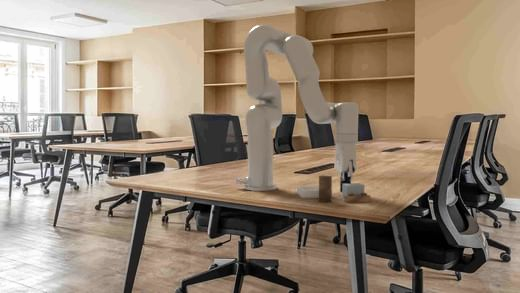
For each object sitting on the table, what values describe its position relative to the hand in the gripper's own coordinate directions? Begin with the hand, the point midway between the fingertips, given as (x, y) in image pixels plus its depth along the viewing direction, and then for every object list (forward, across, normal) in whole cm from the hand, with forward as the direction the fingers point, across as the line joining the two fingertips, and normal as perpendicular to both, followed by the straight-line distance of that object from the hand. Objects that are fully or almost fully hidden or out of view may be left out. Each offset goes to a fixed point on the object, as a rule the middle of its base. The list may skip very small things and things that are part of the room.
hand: (345, 192), depth 147 cm
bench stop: (+1, +11, 0) cm, 11 cm away
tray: (+1, -1, -11) cm, 11 cm away
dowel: (+1, +9, -10) cm, 13 cm away
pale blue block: (+1, +7, 0) cm, 7 cm away
